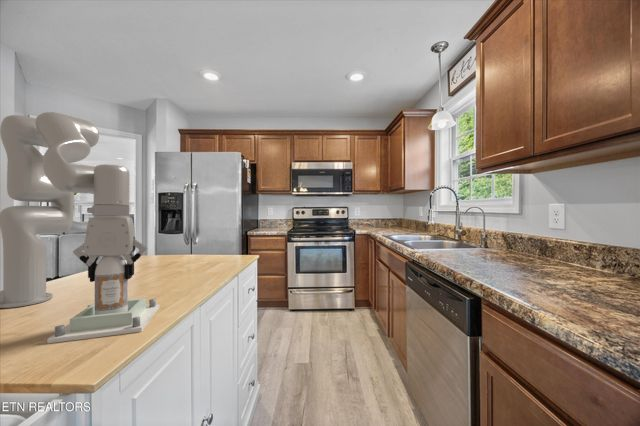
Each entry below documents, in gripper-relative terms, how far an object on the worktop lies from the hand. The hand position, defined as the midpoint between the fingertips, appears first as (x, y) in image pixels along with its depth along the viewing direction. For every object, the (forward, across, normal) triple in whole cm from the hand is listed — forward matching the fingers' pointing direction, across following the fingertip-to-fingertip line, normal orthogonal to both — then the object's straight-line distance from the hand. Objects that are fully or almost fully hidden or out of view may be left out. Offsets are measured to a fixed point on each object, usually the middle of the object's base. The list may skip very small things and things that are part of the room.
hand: (111, 278), depth 71 cm
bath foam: (+10, 0, 0) cm, 10 cm away
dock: (+12, 0, 0) cm, 12 cm away
